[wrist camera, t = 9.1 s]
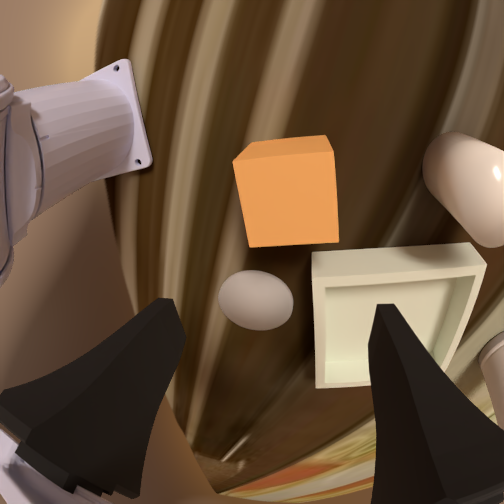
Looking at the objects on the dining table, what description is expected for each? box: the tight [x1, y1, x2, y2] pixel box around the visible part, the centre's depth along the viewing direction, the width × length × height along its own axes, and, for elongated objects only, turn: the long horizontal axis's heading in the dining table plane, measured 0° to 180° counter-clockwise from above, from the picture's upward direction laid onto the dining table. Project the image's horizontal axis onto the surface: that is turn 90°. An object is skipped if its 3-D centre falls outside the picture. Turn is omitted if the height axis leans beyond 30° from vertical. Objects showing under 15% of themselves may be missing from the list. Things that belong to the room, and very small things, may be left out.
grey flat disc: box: [218, 270, 293, 330], centre depth 23 cm, size 6×6×1 cm
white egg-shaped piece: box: [422, 132, 504, 248], centre depth 12 cm, size 5×5×6 cm
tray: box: [312, 242, 487, 388], centre depth 20 cm, size 13×13×3 cm
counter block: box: [233, 135, 339, 247], centre depth 15 cm, size 4×4×5 cm
